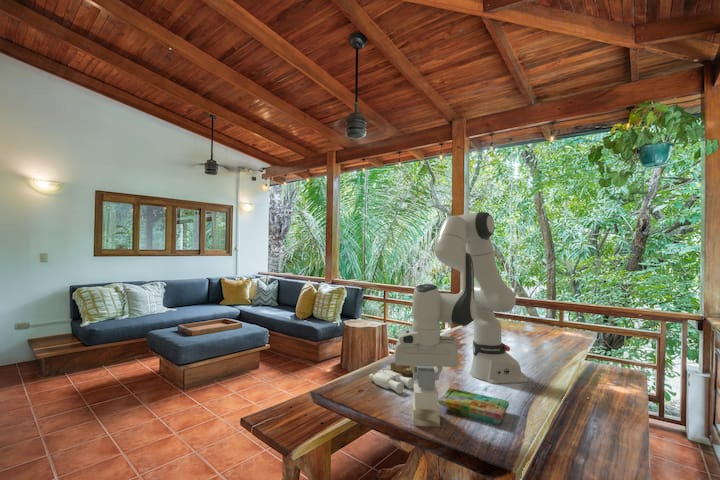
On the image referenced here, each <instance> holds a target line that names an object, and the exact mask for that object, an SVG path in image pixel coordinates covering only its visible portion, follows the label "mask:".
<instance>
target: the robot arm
mask: <svg viewBox="0 0 720 480" xmlns="http://www.w3.org/2000/svg"><path fill="white" fill-rule="evenodd" d="M494 220H495V219H494V217H493V216H492V215H491V214H490V213H489V212H485V211H479V212H471V213H470V212H469V213H463V214H459V215H450V216H447V217H445V219H443V220H442V221H441V223H440V224H439V230H438V233H437V236H436V240H435V244H434V255H435V257H436V258H437V259H438V261H439V262H441V263H442V264H443V265H445V266H447V267H448V268H452V269H454V270H455V271H457V272H459V273H460V274H459V276H460V277H459V279H460V280H459V281H460V282H459V283H460V286H459V287H460V290H459V292H458V293H448V292H447V293H446V292H444V293H443V292H439V288H438V286H437V285H435V284H431V283H424V284H419V285H417V286H415V287H414V289H413V294H412V295H413V296H412V304H411V306H412V308H411V313H412V316H413V317H412V324H411V328H409V329H405V330H401V331H399V333H398V336H397V339H398V340H397V341H396V344H395V348H394V354H393V355H394V356H393V359H394V360H393V361H394V362H395V364H396V365H404V366H410V369H411V371H412V373H413V380H416V381H417V380H418V372H415V371H414V369H415V366H433V367H436V368H437V370H436V371H435V381H439V380H440V374H441V373H442V371H443V368H444V367H445V368H456V367H457V366H459V363H460V361H459V360H460V359H459V352H458V351H459V348H460V341H459V339H458V338H456V337H455V336H452V335H451V336H447V335H446V336H445V335H444V336H443V335H441V325H440V323H445V324H446V323H447V324H452V325H456V326H460V327H461V326H462V327H467V326H468V325H469V324H471V323H473V341H472V354H473V355H472V357H473V358H472V364H471V367H470V371H469V373H470V375H471V376H472V377H474V378H476V379H478V380H482V381H485V382H488V383H490V384H494V385H495V384H498V385H499V384H516V383H527V382H528V377H527V375H526V374H525V373H524V372H523V371H522V369H521V365H520V363H519V362H518V361H517V359H515V358H514V357H513V356H512V355H510V354H509V353H508V352H510V351H511V347H510V346H508V345H506V344H505V343H503V342H502V324H501V322H500V321H499V320H498V318H497V317H496V315H495V313H508V312H509V313H510V312H511V311H512V310H513V309H514V308H515V306H516V302H517V297H516V295H515V293H514V291H513V290H512V289H511V288H509V287H508V286H507V284H506V283H505V281H504V280H503V278H502V276H501V275H500V272H499V270H498V268H497V263H496V258H495V252H494V247H493V244H492V240H491V237H492V235H493V234H494V231H495V226H496V225H495V221H494ZM475 280H476V282H475Z"/></svg>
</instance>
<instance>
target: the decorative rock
mask: <svg viewBox="0 0 720 480" xmlns="http://www.w3.org/2000/svg"><path fill="white" fill-rule="evenodd" d="M389 365H390V371H393V372H396V373H399V374H401V375H402V376H403V377H407V378H413V373H412V371H411V369H410V366H404V365H396V364H395V362H393V361H392V362H390V363H389ZM414 371H415V372H417V366H415V369H414Z"/></svg>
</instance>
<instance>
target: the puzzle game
mask: <svg viewBox="0 0 720 480" xmlns="http://www.w3.org/2000/svg"><path fill="white" fill-rule="evenodd" d="M509 402H510V401H508V400H507V399H502V398H497V397H493V396H489V395H486V394H478V393H476V392H475V393H474V392H471V391H465V390H461V389H456V388H453V387H449V388H448V389H447V390H446V391H445V392H444V394H443V395H442V396H440V398H438V405H441V406H443V407H444V406H445V407H447V408H448V410H449V411H450V412H451V413H454V414H457V415H461V416H465V417H467V418H471V419H475V420H479V421H483V422H487V423H491V424H494V425H497V426H499V425H500V423H501V422H502V421H503V419H504V417H505V414H506V412H507V410H508V407H509V404H510V403H509Z"/></svg>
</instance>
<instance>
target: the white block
mask: <svg viewBox="0 0 720 480" xmlns="http://www.w3.org/2000/svg"><path fill="white" fill-rule="evenodd" d="M413 398H414V405H415V409H428V410H438V406H439V392H438V390H437V385H436V384H435V388H421V387H419V386H418V383H414V385H413Z"/></svg>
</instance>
